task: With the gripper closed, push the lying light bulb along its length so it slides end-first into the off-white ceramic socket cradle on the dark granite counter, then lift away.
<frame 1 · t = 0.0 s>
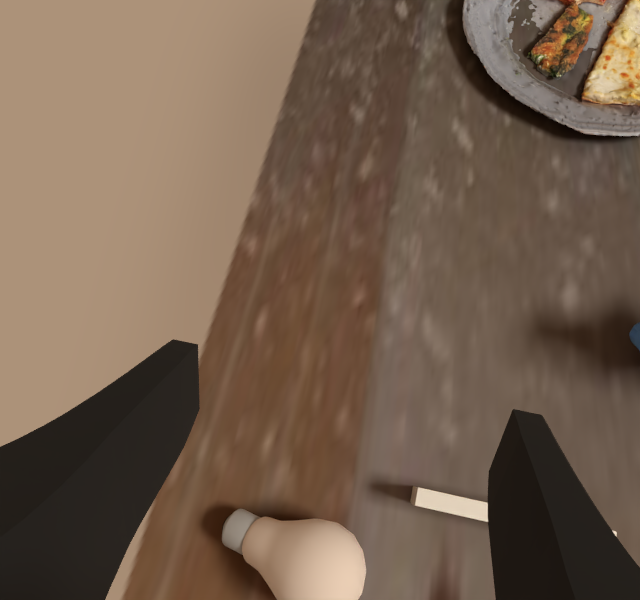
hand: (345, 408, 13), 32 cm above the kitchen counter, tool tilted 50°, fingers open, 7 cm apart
food plate: (598, 27, 54), on the kitchen counter
light bulb: (295, 548, 43), on the kitchen counter
socket cradle: (482, 595, 41), on the kitchen counter
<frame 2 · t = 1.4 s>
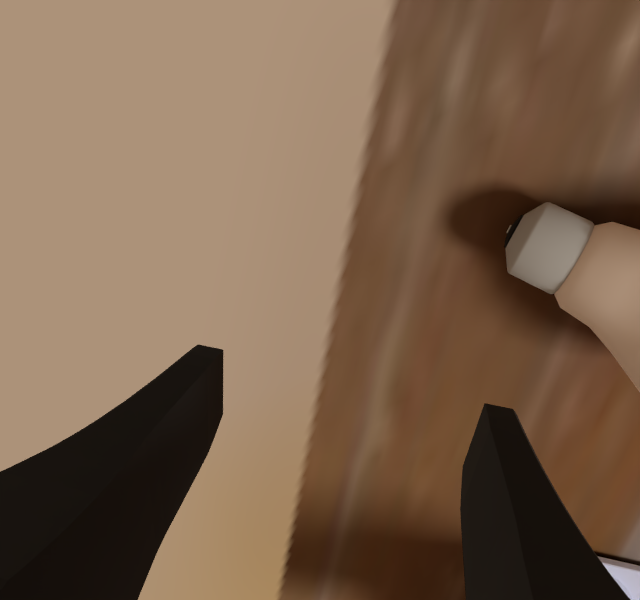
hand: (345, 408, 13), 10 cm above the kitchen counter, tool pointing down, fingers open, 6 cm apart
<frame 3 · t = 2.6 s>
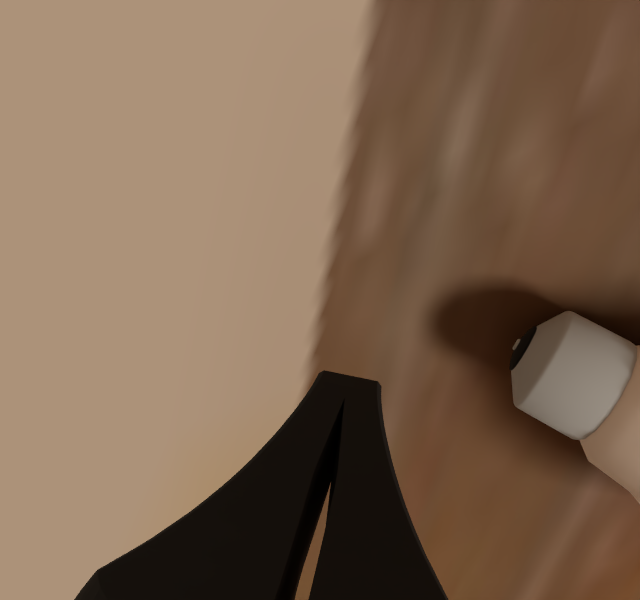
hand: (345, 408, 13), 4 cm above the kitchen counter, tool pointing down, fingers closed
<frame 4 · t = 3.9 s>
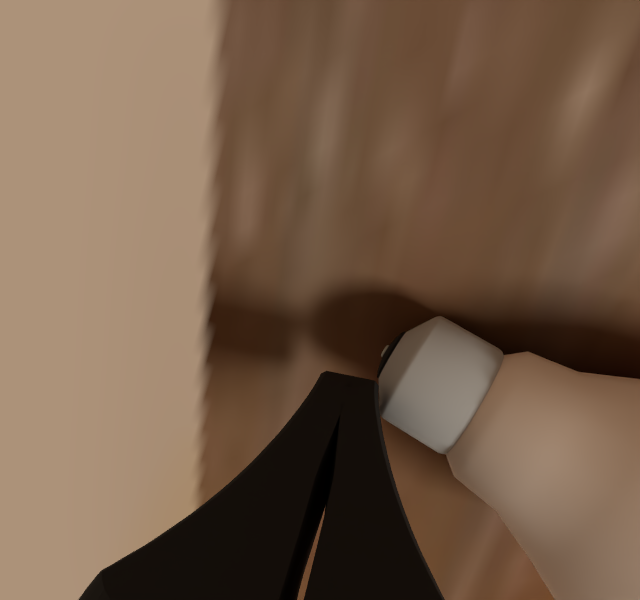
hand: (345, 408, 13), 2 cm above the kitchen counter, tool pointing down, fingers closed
light bulb: (586, 392, 15), on the kitchen counter, touching gripper
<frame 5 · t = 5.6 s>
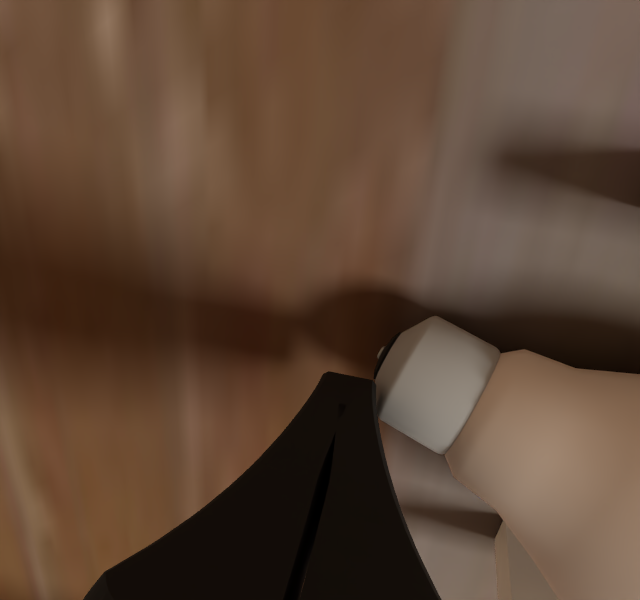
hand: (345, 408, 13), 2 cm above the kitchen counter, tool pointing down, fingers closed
light bulb: (586, 389, 15), on the kitchen counter, touching gripper
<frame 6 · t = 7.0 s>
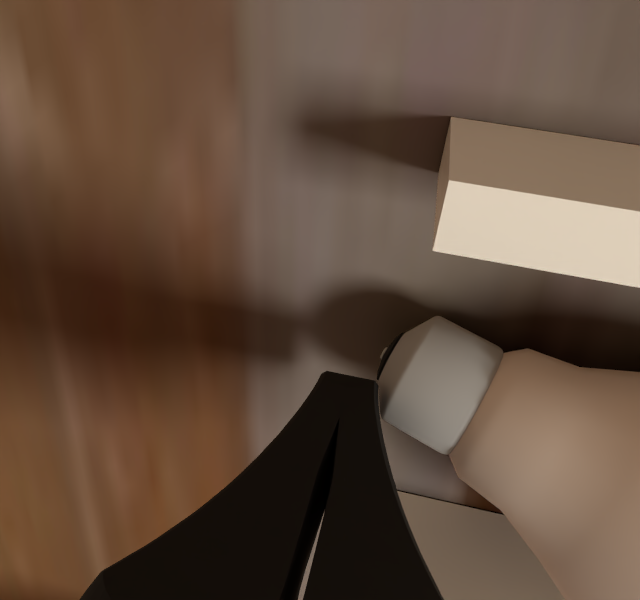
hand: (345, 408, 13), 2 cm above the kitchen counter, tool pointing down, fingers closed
light bulb: (591, 388, 15), on the kitchen counter, touching gripper
socket cradle: (639, 406, 14), on the kitchen counter
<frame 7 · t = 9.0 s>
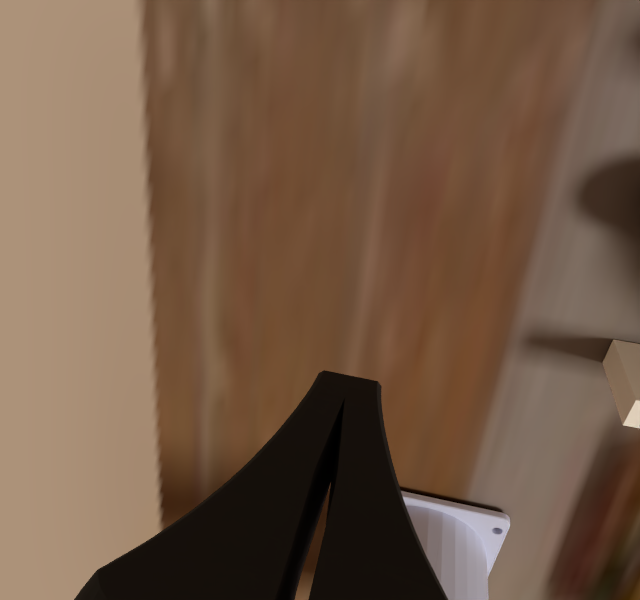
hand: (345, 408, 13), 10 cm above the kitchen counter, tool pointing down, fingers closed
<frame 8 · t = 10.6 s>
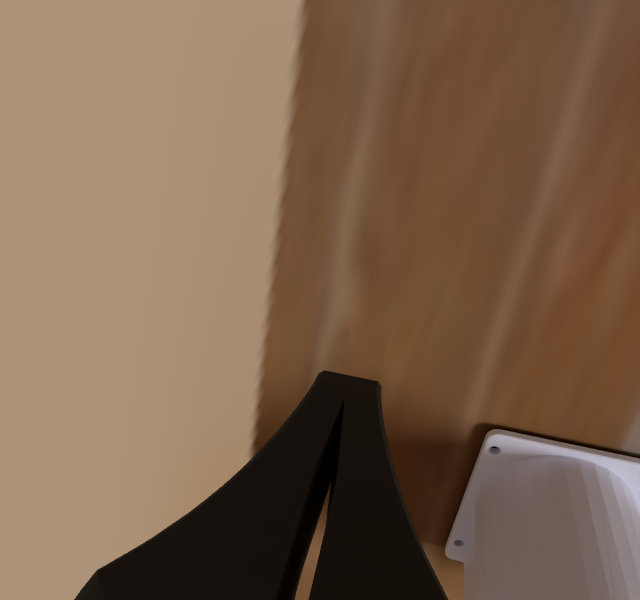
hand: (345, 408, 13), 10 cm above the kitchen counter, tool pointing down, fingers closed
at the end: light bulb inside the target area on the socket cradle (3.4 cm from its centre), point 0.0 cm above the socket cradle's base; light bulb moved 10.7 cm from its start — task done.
